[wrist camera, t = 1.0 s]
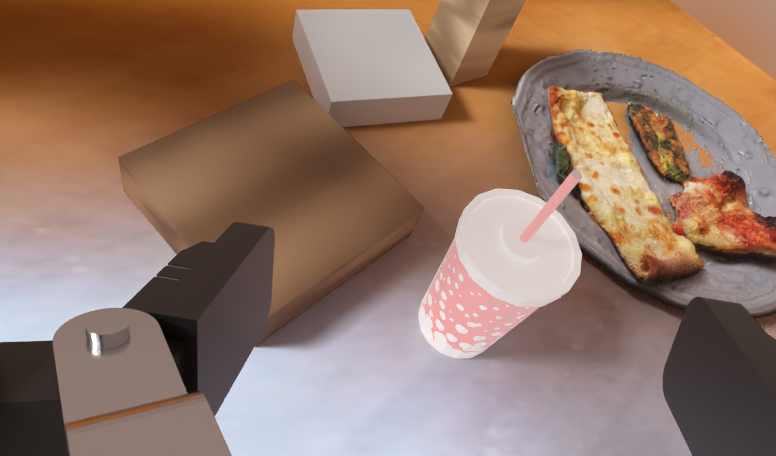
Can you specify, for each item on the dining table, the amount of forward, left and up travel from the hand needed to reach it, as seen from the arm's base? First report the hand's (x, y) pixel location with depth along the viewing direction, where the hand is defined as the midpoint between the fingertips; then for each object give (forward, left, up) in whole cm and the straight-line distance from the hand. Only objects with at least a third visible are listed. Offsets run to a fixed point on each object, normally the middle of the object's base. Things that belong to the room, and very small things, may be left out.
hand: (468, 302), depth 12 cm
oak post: (-22, +26, -20) cm, 40 cm away
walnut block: (-15, +6, -20) cm, 26 cm away
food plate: (-6, +34, -21) cm, 40 cm away
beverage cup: (-4, +12, -21) cm, 24 cm away
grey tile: (-23, +18, -21) cm, 36 cm away
